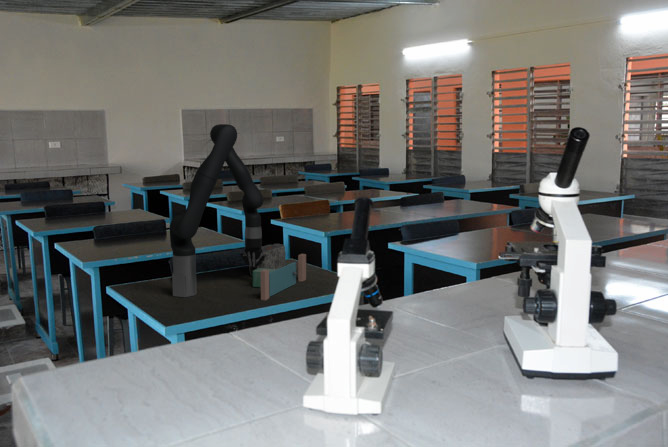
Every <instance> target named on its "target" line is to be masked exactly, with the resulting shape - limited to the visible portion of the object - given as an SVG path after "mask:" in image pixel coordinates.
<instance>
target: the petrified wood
mask: <svg viewBox="0 0 668 447" xmlns="http://www.w3.org/2000/svg"><path fill="white" fill-rule="evenodd" d="M262 251H263V252H262V253H263V254H264V255H267V257H266V258H265V260H264V261H263V262H262V264H261V265H259V266H257V268H266V269H279V268H282V267H284V266H286V265H287V264H286V246H285V245H284V244H282V243H281V244H280V243H273V244H266V245H264V246H263V245H262ZM260 256H261V255H260ZM259 260H260V257H259ZM259 260H258V261H259ZM248 267H249V268H250V266H249V265H248ZM249 274H250V275H251V273H250V272H249Z"/></svg>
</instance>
